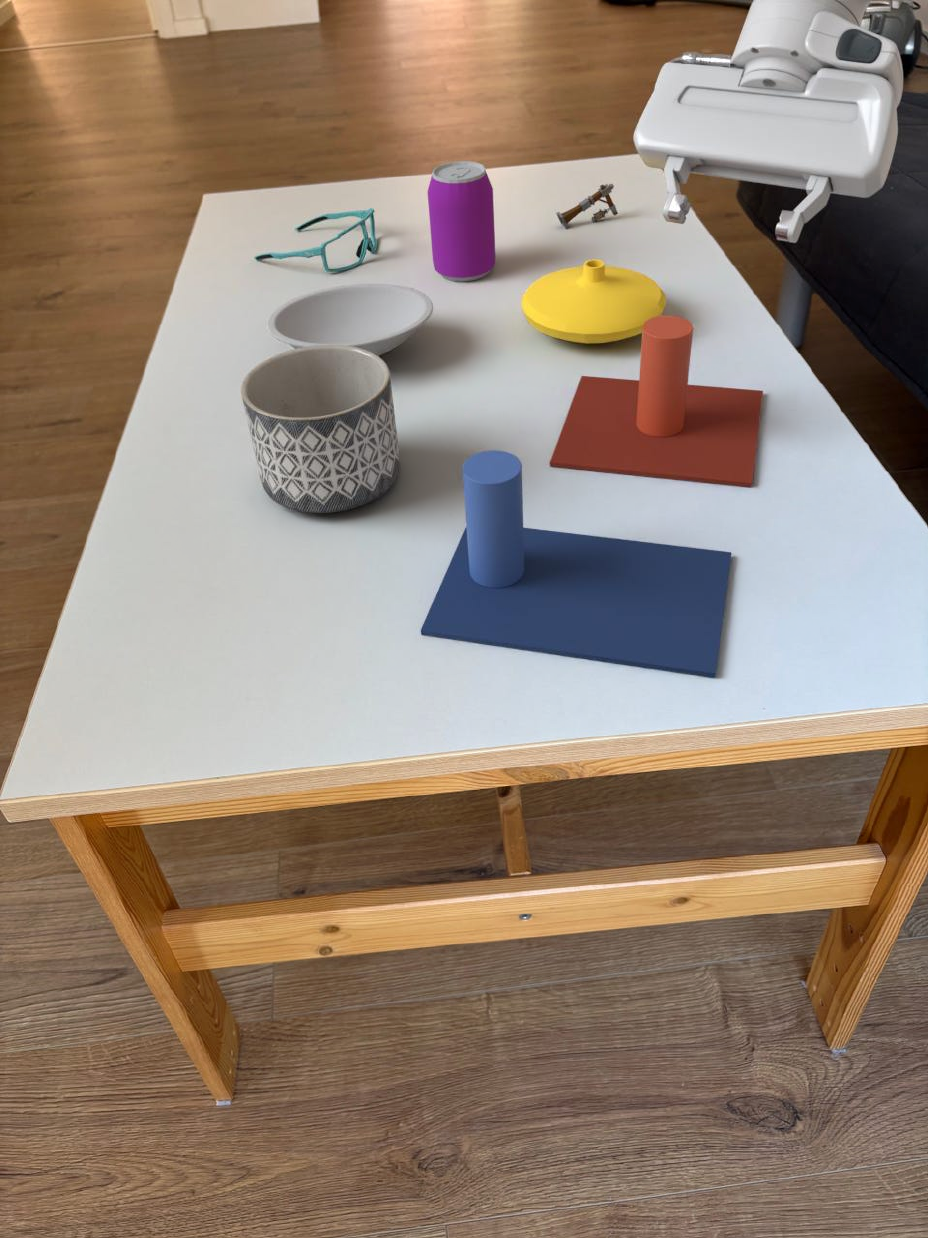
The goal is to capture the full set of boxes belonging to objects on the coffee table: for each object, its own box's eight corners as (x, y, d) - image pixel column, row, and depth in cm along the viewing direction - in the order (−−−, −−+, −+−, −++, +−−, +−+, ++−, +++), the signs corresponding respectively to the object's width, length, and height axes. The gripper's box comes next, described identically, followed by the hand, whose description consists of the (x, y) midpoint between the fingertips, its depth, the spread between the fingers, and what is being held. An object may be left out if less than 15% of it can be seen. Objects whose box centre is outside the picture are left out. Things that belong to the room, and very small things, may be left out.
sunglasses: (345, 281, 125) (336, 240, 122) (248, 277, 132) (237, 238, 129) (399, 237, 134) (392, 198, 131) (306, 235, 141) (297, 198, 138)
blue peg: (529, 557, 83) (527, 453, 76) (517, 591, 80) (514, 486, 73) (477, 550, 84) (471, 447, 77) (463, 584, 81) (455, 480, 74)
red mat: (762, 394, 101) (763, 390, 100) (751, 487, 89) (752, 482, 89) (581, 379, 105) (581, 375, 104) (549, 466, 93) (549, 461, 93)
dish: (426, 316, 117) (422, 274, 114) (446, 376, 107) (443, 332, 103) (272, 337, 116) (264, 295, 112) (278, 400, 105) (269, 356, 102)
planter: (396, 437, 99) (384, 337, 92) (407, 513, 89) (394, 409, 82) (265, 452, 98) (243, 352, 91) (262, 530, 89) (237, 427, 82)
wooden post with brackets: (625, 211, 134) (613, 181, 131) (572, 244, 135) (559, 215, 132) (620, 206, 136) (608, 176, 133) (568, 240, 137) (555, 211, 134)
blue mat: (730, 556, 82) (731, 551, 82) (715, 678, 73) (716, 673, 72) (468, 525, 88) (468, 520, 87) (420, 634, 78) (420, 630, 77)
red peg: (685, 414, 98) (695, 316, 91) (680, 439, 95) (690, 339, 88) (639, 410, 99) (646, 313, 92) (633, 434, 96) (639, 336, 89)
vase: (626, 284, 121) (629, 224, 116) (690, 341, 109) (696, 278, 105) (501, 310, 117) (499, 250, 113) (553, 372, 106) (553, 308, 101)
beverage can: (483, 286, 122) (478, 184, 114) (424, 280, 124) (415, 179, 116) (504, 260, 127) (501, 160, 119) (447, 255, 130) (440, 156, 122)
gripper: (658, 26, 82) (598, 190, 83) (920, 46, 73) (850, 230, 74) (677, 72, 88) (621, 226, 89) (923, 96, 79) (858, 267, 79)
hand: (727, 228), depth 81 cm, fingers open, 8 cm apart
